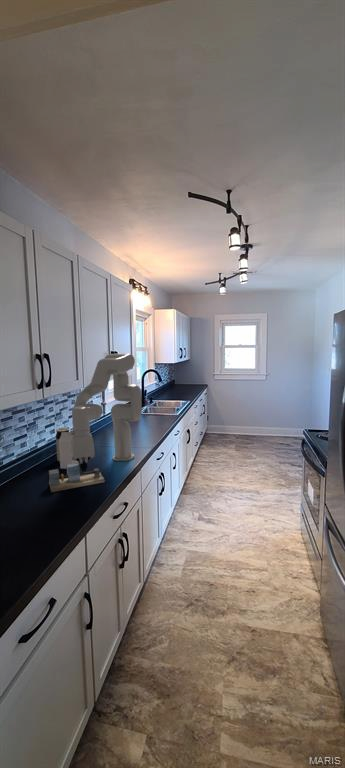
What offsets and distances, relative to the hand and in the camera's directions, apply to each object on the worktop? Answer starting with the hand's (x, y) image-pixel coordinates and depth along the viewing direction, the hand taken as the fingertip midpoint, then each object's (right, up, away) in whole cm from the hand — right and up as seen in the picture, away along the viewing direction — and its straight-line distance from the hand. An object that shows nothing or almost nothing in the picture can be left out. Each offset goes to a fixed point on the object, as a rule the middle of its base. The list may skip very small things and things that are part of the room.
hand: (83, 470), depth 165 cm
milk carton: (-13, -4, +23) cm, 27 cm away
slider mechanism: (-3, -6, -1) cm, 7 cm away
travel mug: (-20, -3, +35) cm, 41 cm away
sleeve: (-4, -4, -2) cm, 6 cm away
